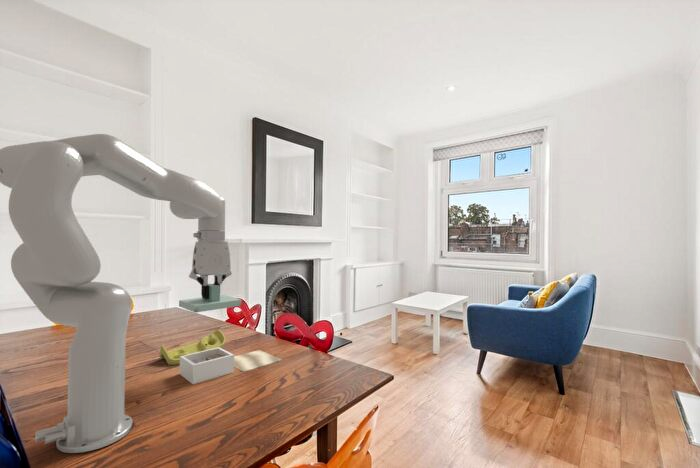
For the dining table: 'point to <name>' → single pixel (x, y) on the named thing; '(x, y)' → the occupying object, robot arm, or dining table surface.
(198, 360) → the steel block
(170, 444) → the dining table surface
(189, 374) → the tub
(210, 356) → the walnut block
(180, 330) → the dining table surface
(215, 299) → the lid
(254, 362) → the board
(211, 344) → the plastic component
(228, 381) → the dining table surface
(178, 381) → the dining table surface
